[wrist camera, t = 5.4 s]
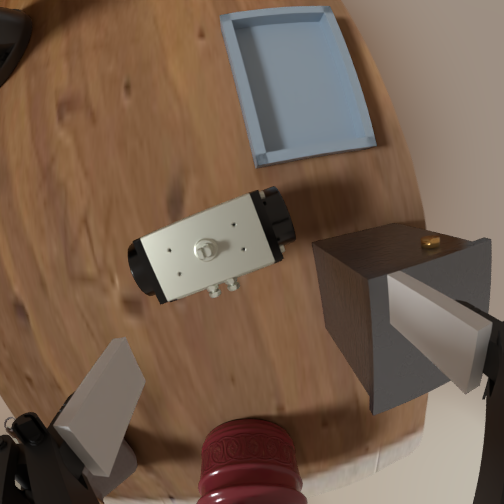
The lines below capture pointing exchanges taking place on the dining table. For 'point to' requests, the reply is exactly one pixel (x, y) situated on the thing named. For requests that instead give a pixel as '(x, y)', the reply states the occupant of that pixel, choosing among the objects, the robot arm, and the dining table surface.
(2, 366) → the dining table surface
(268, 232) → the pneumatic valve
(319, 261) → the box
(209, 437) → the canister
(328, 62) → the tray
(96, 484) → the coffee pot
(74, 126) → the dining table surface
